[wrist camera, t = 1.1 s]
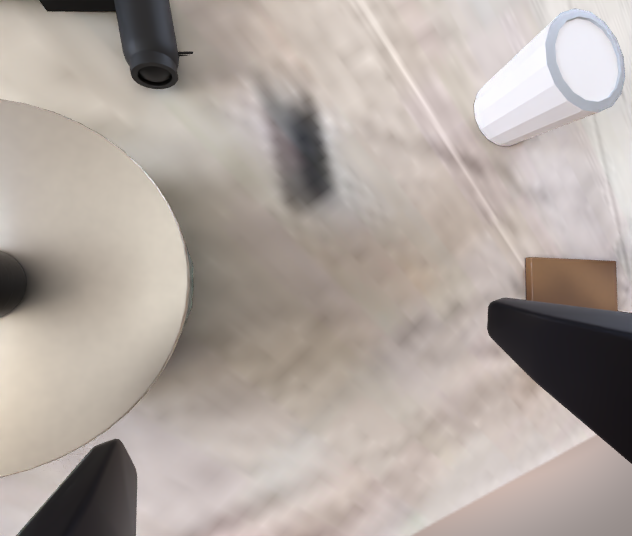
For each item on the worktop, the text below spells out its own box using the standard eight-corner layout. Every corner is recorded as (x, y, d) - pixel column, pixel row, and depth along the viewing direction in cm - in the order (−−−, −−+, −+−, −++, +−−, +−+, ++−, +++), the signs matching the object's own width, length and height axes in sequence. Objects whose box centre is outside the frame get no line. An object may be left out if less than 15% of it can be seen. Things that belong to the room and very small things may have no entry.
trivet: (612, 367, 30) (620, 368, 29) (527, 372, 27) (534, 374, 27) (608, 261, 30) (616, 261, 30) (525, 257, 28) (531, 257, 27)
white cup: (506, 60, 28) (594, -10, 22) (546, 128, 29) (642, 81, 22) (452, 97, 27) (528, 33, 20) (496, 168, 27) (583, 130, 21)
